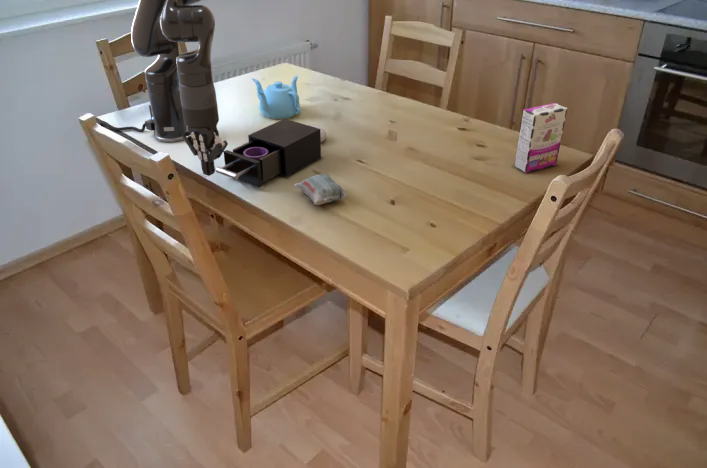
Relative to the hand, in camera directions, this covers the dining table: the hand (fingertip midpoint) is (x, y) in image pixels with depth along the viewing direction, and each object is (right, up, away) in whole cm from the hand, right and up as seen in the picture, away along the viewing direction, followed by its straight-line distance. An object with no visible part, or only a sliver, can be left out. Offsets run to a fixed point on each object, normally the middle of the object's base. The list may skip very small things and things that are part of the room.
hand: (209, 173), depth 136 cm
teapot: (+9, +25, +54) cm, 60 cm away
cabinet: (+15, +6, +23) cm, 28 cm away
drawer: (+8, +1, +14) cm, 16 cm away
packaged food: (+26, -6, +6) cm, 27 cm away
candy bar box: (+83, +4, +23) cm, 86 cm away
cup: (+9, +3, +14) cm, 17 cm away
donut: (+21, +13, +35) cm, 43 cm away
